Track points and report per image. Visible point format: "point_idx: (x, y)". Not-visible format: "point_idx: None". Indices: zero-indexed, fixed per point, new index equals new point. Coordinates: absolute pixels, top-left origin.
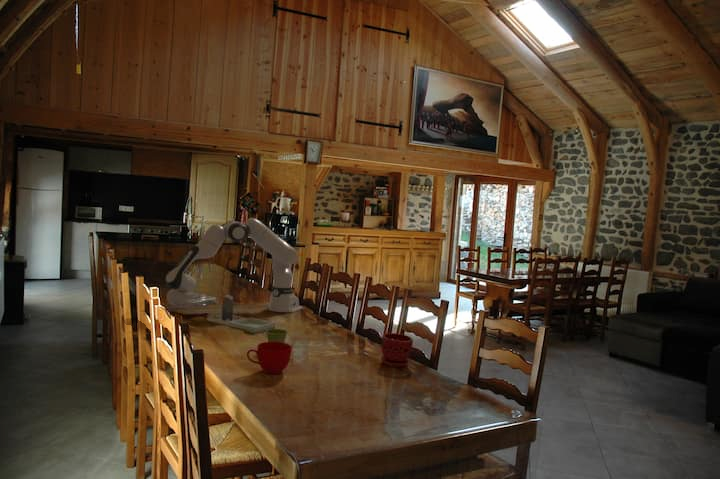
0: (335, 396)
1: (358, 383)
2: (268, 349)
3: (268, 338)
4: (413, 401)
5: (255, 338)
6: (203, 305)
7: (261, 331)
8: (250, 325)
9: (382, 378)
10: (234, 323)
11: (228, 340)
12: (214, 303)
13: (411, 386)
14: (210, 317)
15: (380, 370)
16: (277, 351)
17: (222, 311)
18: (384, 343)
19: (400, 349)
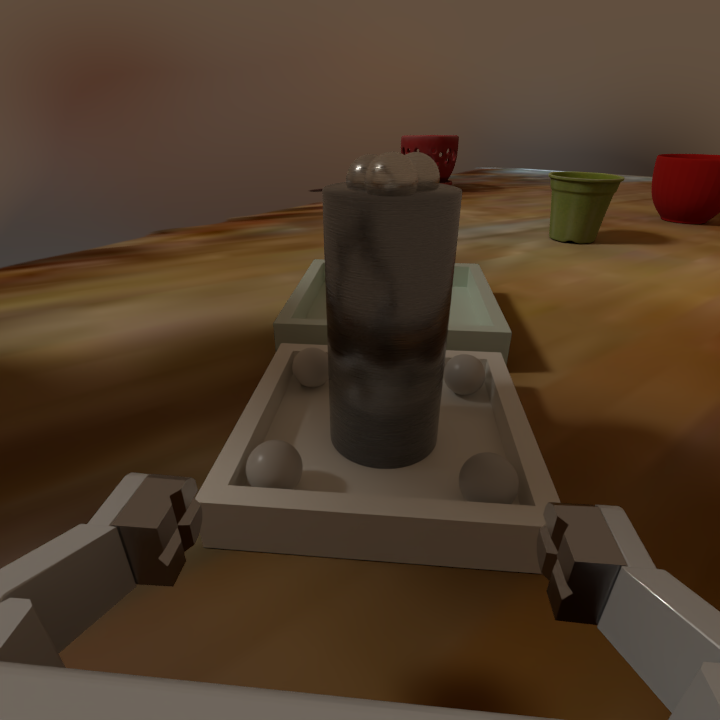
0: (642, 193)
1: None
2: (694, 179)
3: (611, 198)
4: None
5: (528, 279)
6: (613, 515)
7: None
8: None
9: (512, 188)
10: (503, 317)
11: (668, 304)
12: (169, 540)
13: (507, 182)
14: (525, 508)
15: (479, 191)
16: (715, 156)
17: (441, 360)
18: (455, 147)
19: None
